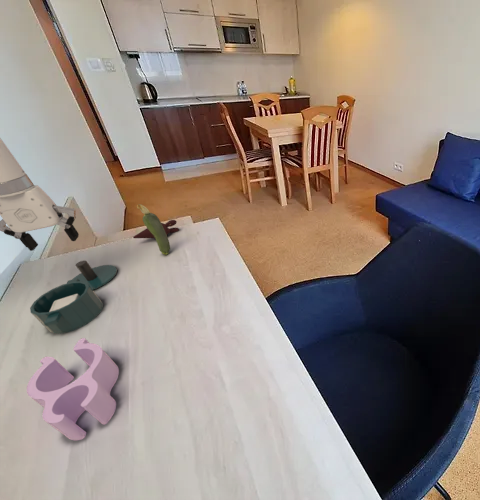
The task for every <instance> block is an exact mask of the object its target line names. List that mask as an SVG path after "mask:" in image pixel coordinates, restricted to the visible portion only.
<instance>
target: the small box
mask: <svg viewBox="0 0 480 500" xmlns="http://www.w3.org/2000/svg"><path fill="white" fill-rule="evenodd" d="M79 297H80V296H79V294H74V295H71V296H68V297H65V298H62V299H59V300H56V301H54V303H53V305H52V307H51V309H50V311H54V310H57V309H60V308H62V307H64V306H66V305H69V304H70V303H72V302H73V301H75V300H76V299H78V298H79ZM50 311H49V312H50Z"/></svg>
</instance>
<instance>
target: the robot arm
mask: <svg viewBox="0 0 480 500" xmlns="http://www.w3.org/2000/svg"><path fill="white" fill-rule="evenodd" d="M76 211H77V210H76V208H74V207H68V206H62V205H61V206H60V205H57V204H56V203H55V202H54V200H53V198H52V197H50V196H49V195H48V194H47V193H46V192H45V190H43V189H42V188H41V187H40V186H39V185H37V184H35V183H34V182H33V181H32V180H31V178H30V177H29V176H28V174H27V173H26V172H25V170H24V169H23V167H22V166H21V164H20V163H19V162H18V160H17V159H16V158H15V156H14V155H13V153H12V152H11V151H10V149H9V147H8V146H7V145H6V143H5V142H4V141H3V139H2V138H1V137H0V217H1V220H0V232H1V233H2V232H3V234H5V235H6V236H9V237H13V238H15V239H16V240H19V241H20V242H21V243H22V244H23V246H24V247H25V248H27V249H28V250H29V251H30V252H32V251H35V249H36V248H37V247H38V246H39V243H38V242H37V240H35V238H34V237H33V236H32V234H31V233H29V232H33V231H36V230H40V229H41V230H42V229H46V228H50V227H53V226H56V225H57V226H59V227H62V228H64V229H63V231H64V232H65V234H66V235H67V236H68V238H69V239H70V241H71V242H76V241H77V240H78V238H79V232H78V230H77V229H76V228H75V226H74V222H75V220H76V218H77V217H76V213H77V212H76ZM64 214H67V217H68V218H67V217H64Z"/></svg>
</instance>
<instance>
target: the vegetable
mask: <svg viewBox="0 0 480 500" xmlns="http://www.w3.org/2000/svg"><path fill="white" fill-rule="evenodd" d="M136 208H137V210H140V212H141V213H142V214H143V216H142V222H143V224H144V226H145V227H146V228H148V229H149V231H150V232H151V233H152V234H153V235H154V237H155V238H154V240H155V241H156V244H157V247H158V249H159V252H161V254H162V255H165V256H168V254H169V253H170V250H171V243H170V241H169V240H170V239H169V237H168V234H167V235H166V232H165V230H164V228H163V226H162V224H161V223H162V222H161V220H160V218H159V217H158V216H157V215H156V214H155V213H154V212H153V213H152V212H151V211H150V210H149V208H148V207H146V206H145V205H143V204H137V205H136Z"/></svg>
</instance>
